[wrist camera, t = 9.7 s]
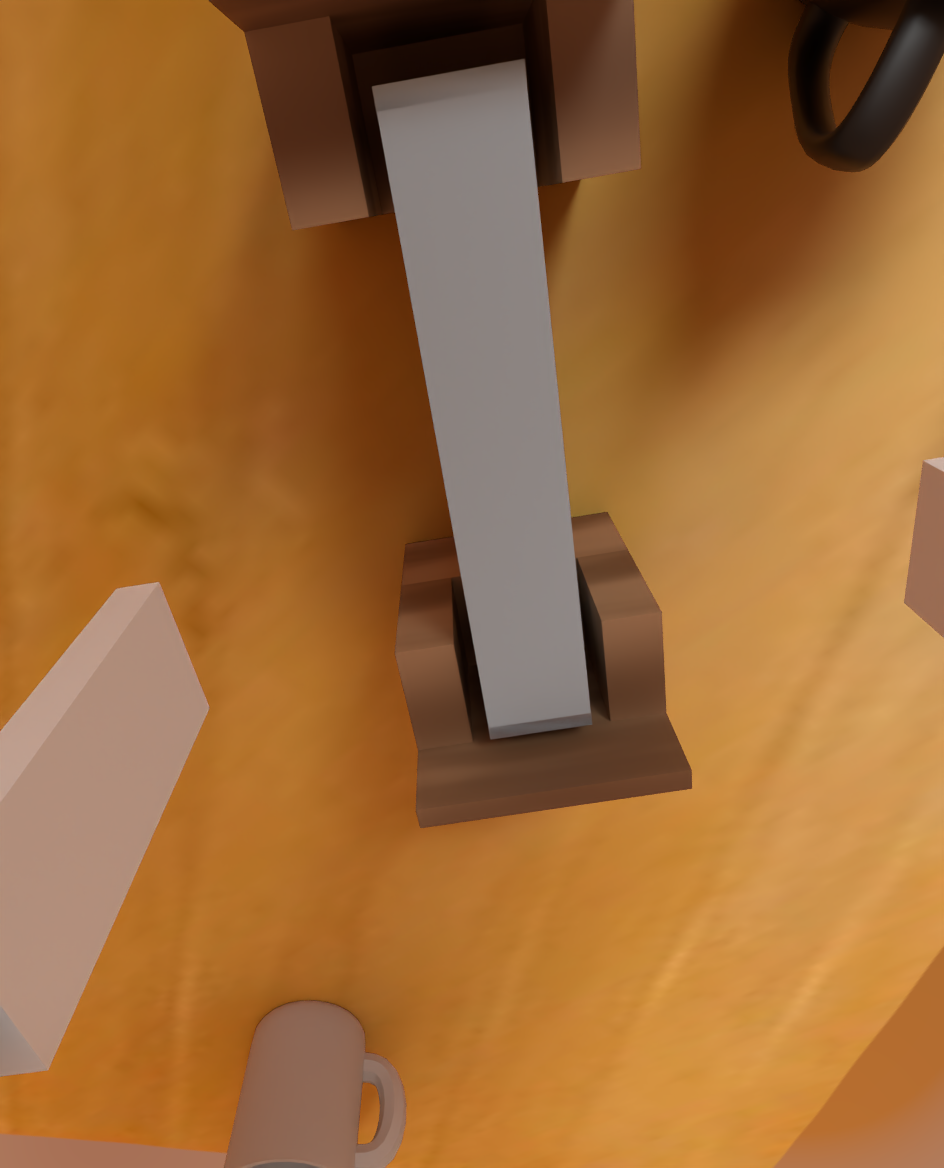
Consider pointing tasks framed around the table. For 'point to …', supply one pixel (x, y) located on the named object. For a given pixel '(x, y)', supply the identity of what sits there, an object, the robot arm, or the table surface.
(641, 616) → the post foot
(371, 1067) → the cup
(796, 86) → the mug
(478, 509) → the rail
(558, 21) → the post head
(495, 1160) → the table surface
